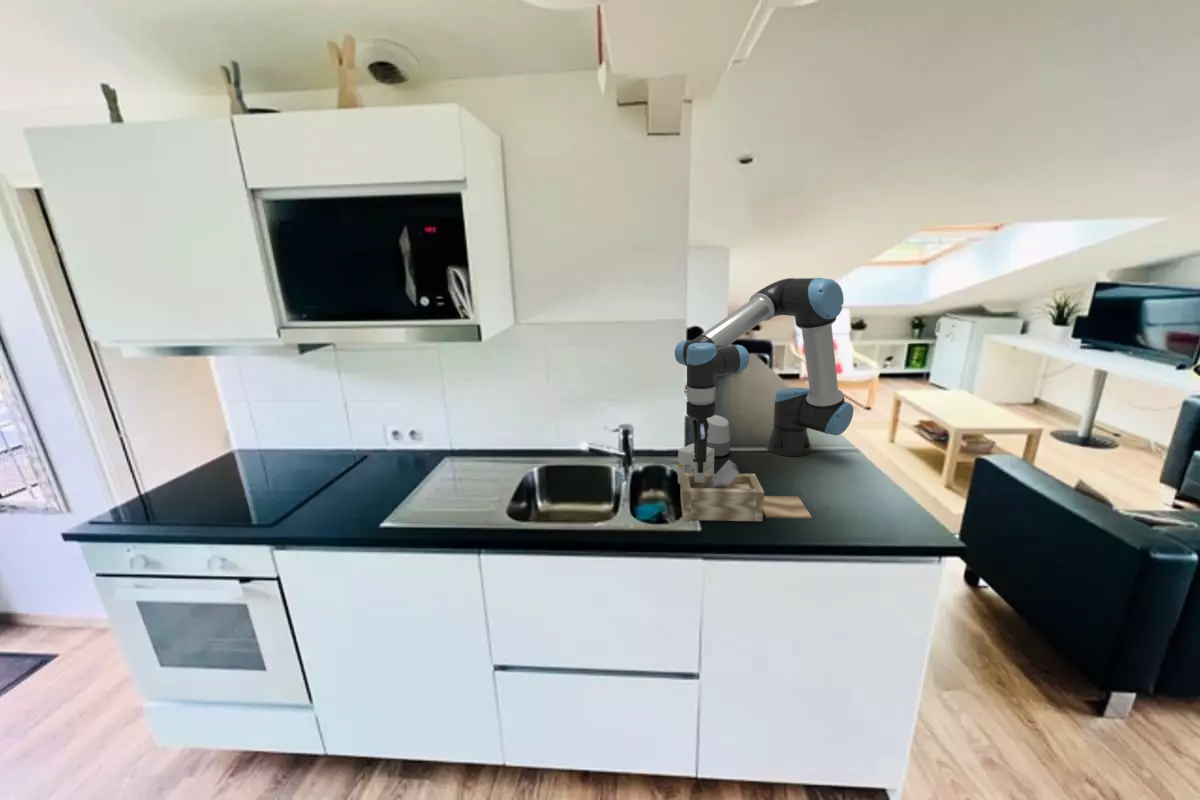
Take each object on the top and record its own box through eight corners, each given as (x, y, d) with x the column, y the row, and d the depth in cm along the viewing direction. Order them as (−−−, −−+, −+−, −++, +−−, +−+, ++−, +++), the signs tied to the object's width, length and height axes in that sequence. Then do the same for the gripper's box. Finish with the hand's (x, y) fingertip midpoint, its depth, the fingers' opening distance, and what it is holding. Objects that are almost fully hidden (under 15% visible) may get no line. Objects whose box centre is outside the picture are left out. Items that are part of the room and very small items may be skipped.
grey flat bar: (735, 464, 137) (728, 459, 137) (739, 473, 131) (732, 467, 131) (699, 504, 141) (692, 499, 141) (701, 514, 136) (694, 509, 135)
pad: (756, 497, 144) (756, 495, 144) (798, 498, 143) (798, 496, 143) (765, 517, 133) (766, 515, 133) (811, 518, 132) (811, 516, 132)
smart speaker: (718, 460, 172) (719, 423, 169) (698, 453, 179) (699, 417, 176) (734, 453, 178) (736, 417, 174) (714, 447, 185) (715, 412, 181)
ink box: (692, 474, 162) (693, 442, 158) (714, 482, 156) (715, 448, 153) (676, 483, 156) (677, 449, 153) (698, 491, 150) (699, 455, 147)
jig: (753, 500, 143) (754, 473, 140) (762, 521, 131) (764, 492, 129) (680, 499, 145) (680, 473, 143) (683, 519, 133) (683, 491, 131)
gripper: (684, 394, 137) (684, 471, 143) (688, 408, 124) (687, 491, 131) (711, 394, 136) (710, 471, 142) (718, 407, 123) (716, 492, 130)
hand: (699, 481), depth 136 cm, fingers closed
